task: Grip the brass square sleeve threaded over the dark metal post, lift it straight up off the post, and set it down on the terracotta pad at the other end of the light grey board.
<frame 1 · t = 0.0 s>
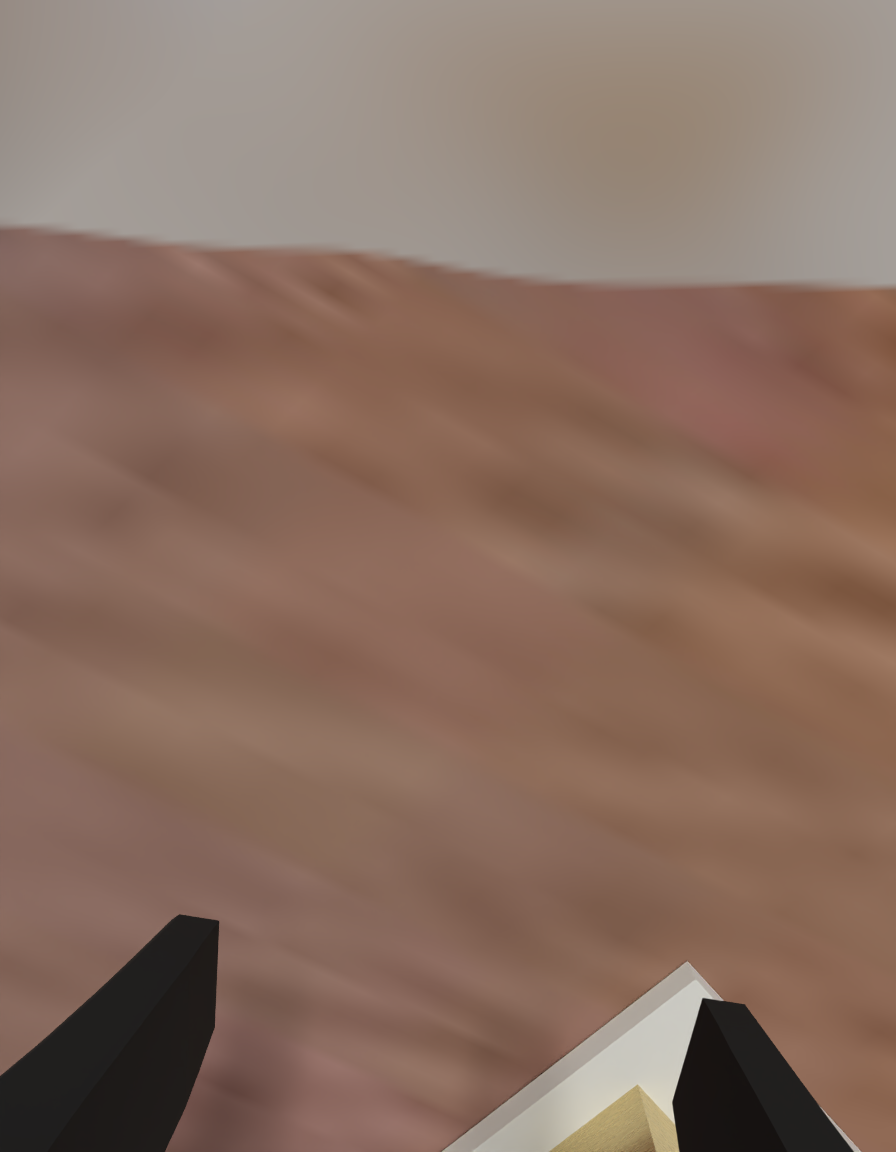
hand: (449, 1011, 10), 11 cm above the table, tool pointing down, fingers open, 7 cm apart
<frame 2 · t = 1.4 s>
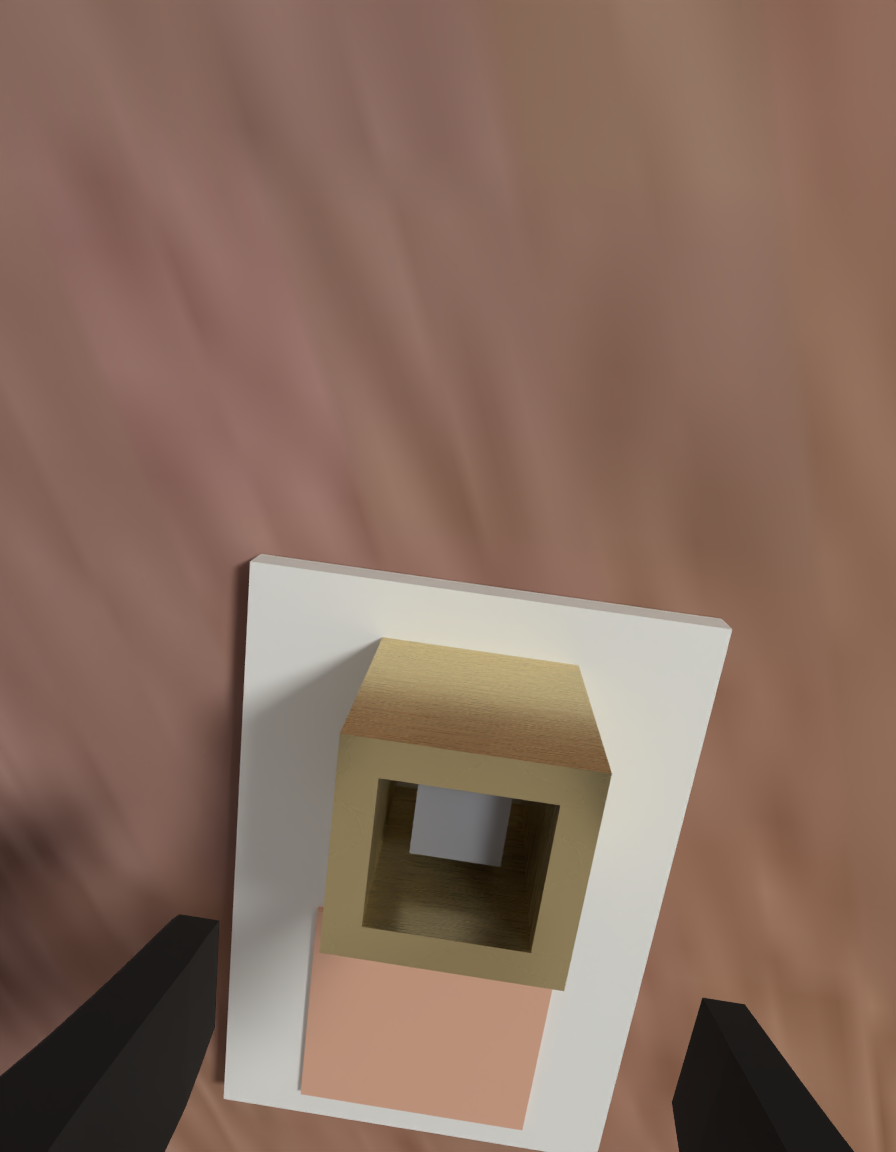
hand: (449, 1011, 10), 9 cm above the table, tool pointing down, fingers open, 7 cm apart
sleeve: (467, 739, 18), point 1 cm above the table, touching board
board: (445, 876, 20), on the table
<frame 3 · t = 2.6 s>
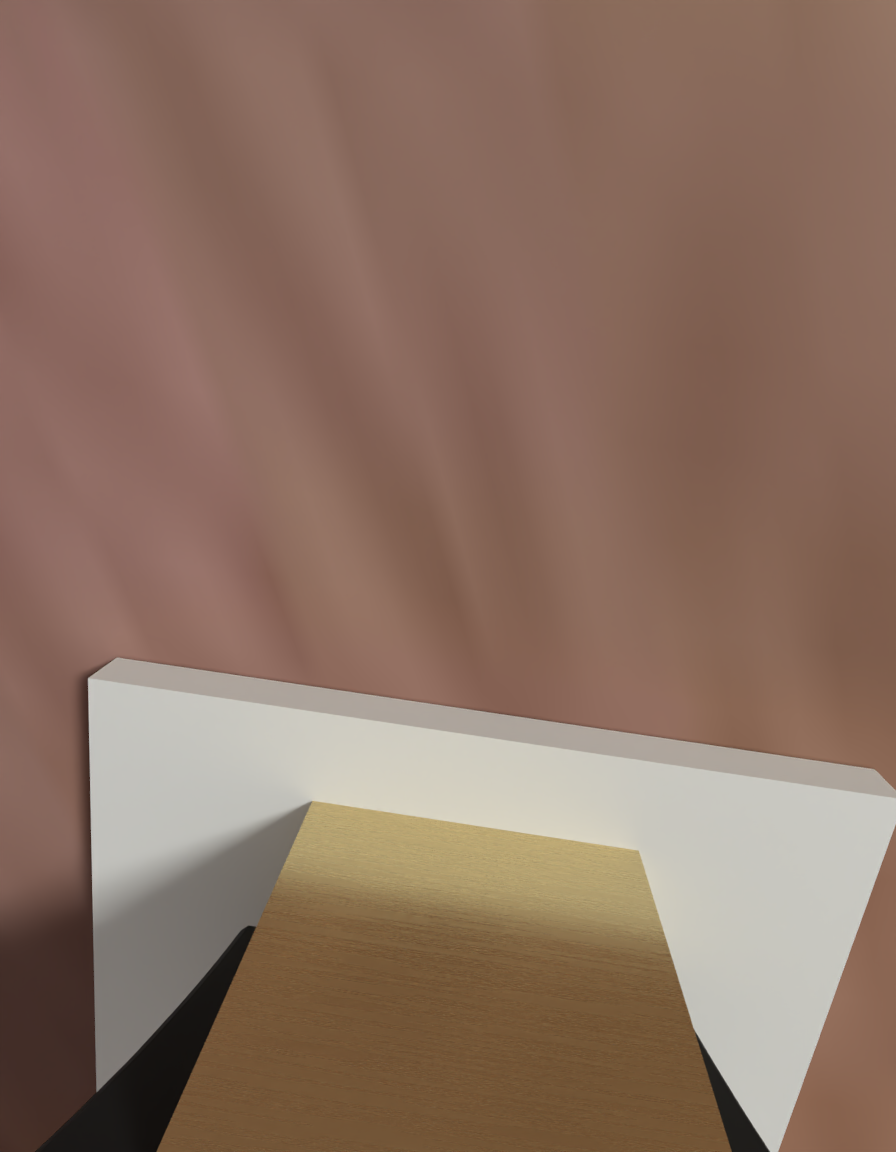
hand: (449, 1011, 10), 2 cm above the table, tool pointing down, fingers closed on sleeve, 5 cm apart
sleeve: (453, 957, 11), point 1 cm above the table, touching board, gripper
board: (422, 1130, 13), on the table
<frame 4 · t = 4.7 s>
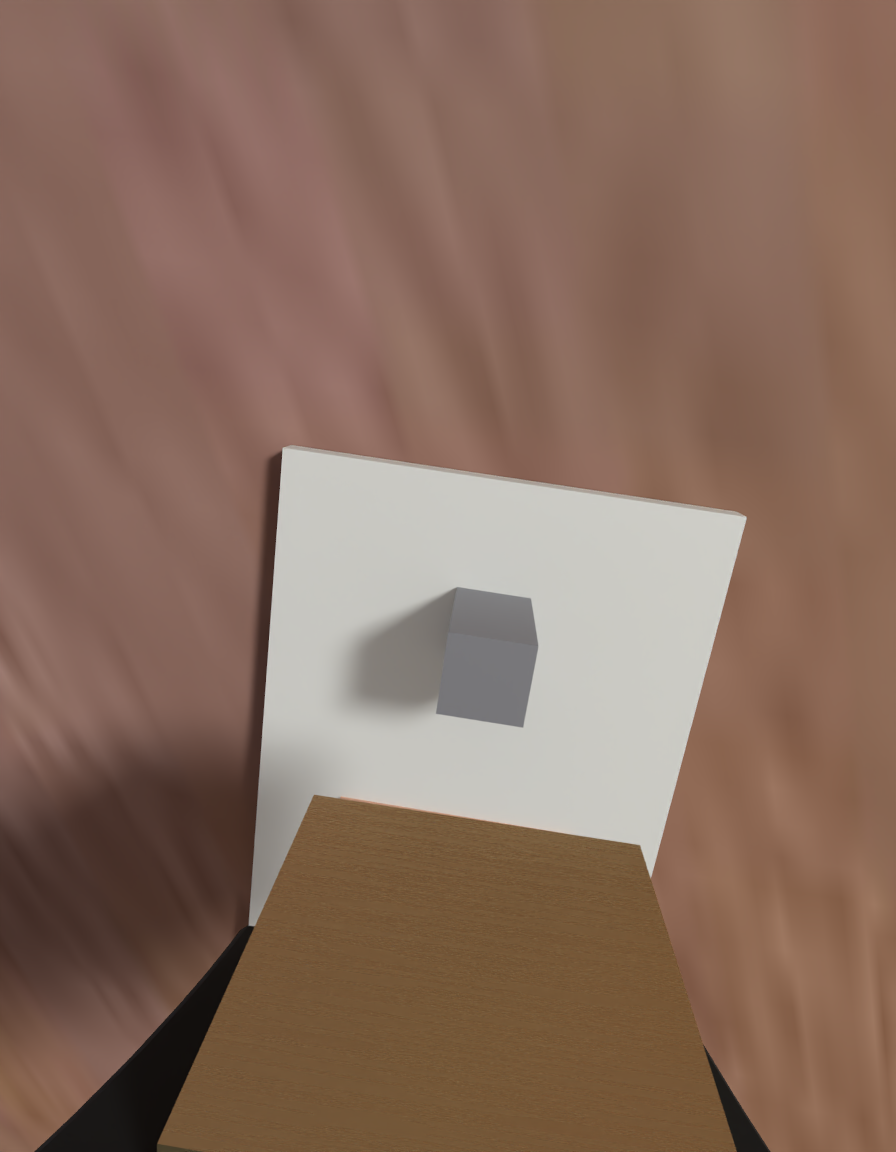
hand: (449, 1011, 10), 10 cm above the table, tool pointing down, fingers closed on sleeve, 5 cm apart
sleeve: (454, 951, 11), point 9 cm above the table, touching gripper
board: (463, 771, 21), on the table
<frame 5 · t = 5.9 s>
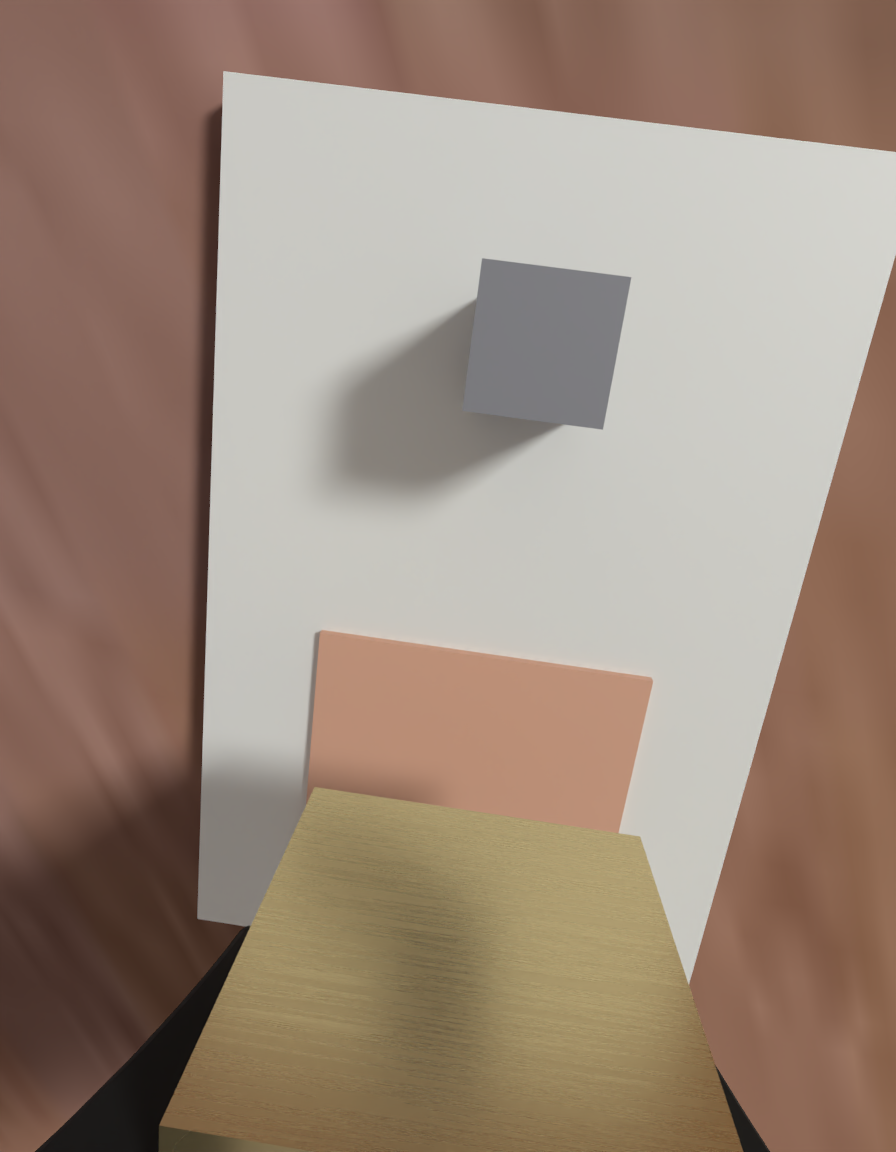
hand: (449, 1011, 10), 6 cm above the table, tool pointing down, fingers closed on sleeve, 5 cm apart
sleeve: (454, 944, 11), point 5 cm above the table, touching gripper
board: (492, 597, 15), on the table
when the fingers open (3 cm above the table, at t = 6.9 s): sleeve drops 1 cm, resting on board.
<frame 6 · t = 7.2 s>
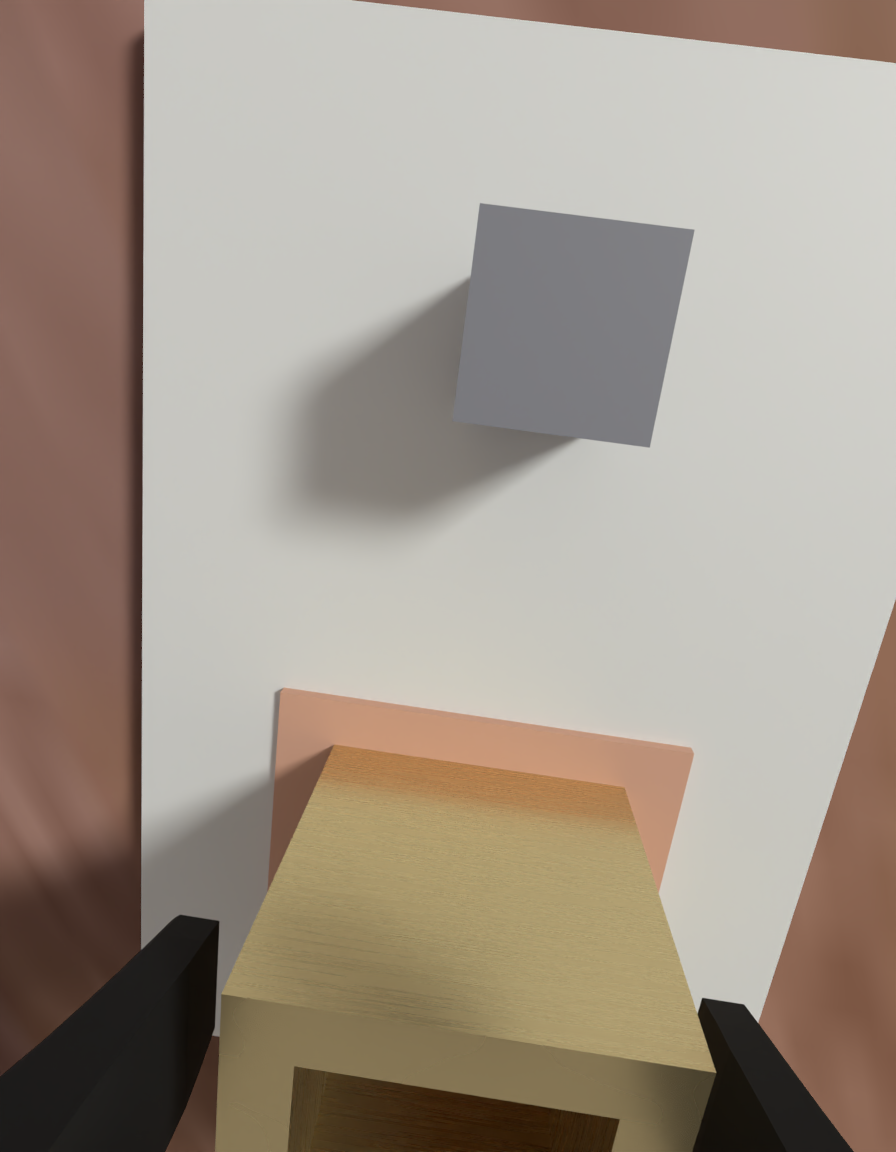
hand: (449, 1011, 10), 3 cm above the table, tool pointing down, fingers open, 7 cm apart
sleeve: (459, 886, 12), point 1 cm above the table, touching board
board: (494, 645, 12), on the table
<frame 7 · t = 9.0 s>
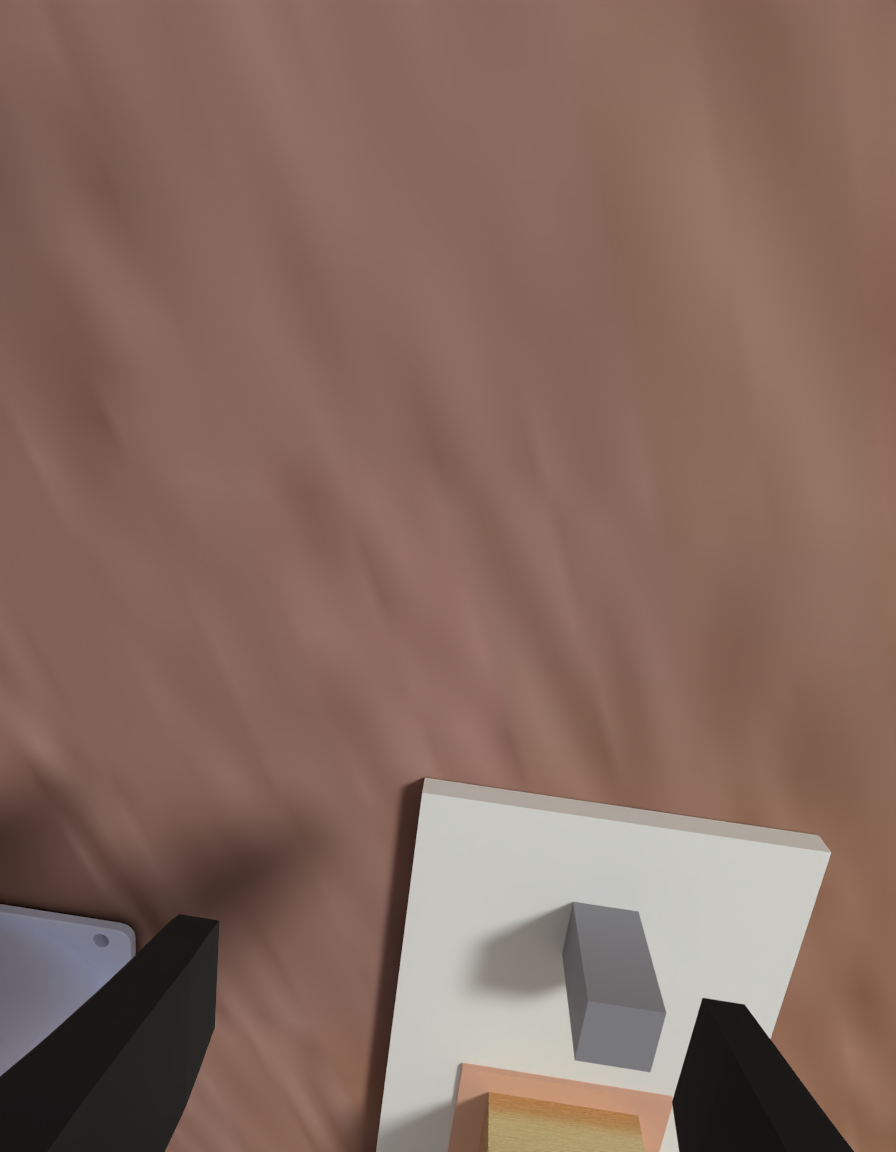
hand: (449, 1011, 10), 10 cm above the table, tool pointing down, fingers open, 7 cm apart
board: (569, 1034, 23), on the table
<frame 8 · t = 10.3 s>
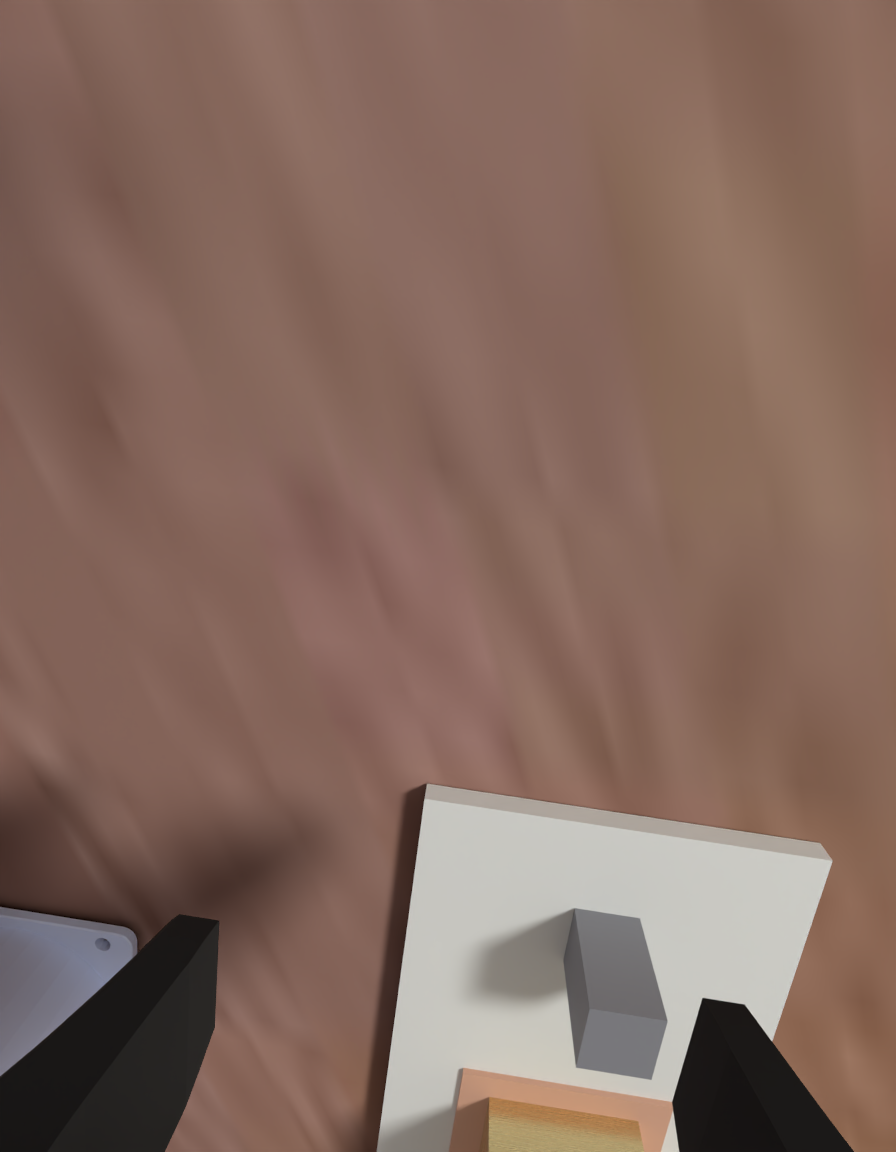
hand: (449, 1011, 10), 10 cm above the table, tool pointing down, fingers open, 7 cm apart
board: (569, 1039, 23), on the table
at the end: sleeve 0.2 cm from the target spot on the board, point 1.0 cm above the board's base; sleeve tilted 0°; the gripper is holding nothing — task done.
